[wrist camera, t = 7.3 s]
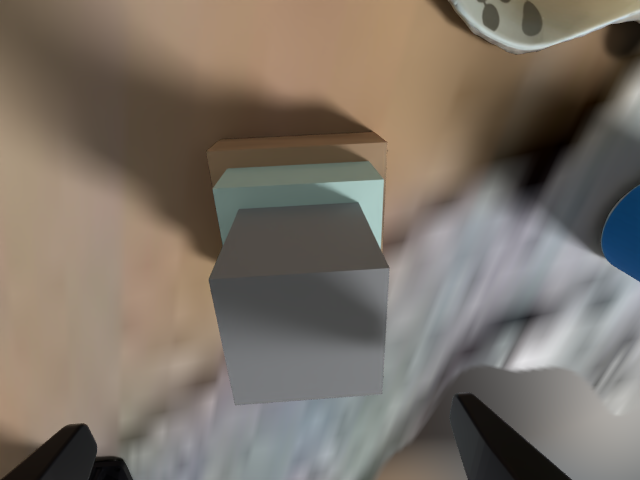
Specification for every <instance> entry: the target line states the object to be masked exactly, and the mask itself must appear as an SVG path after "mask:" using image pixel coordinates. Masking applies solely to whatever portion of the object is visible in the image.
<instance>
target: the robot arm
mask: <svg viewBox="0 0 640 480" xmlns="http://www.w3.org/2000/svg"><path fill="white" fill-rule="evenodd" d="M450 422H451V427H452V430H453V433H454V436H455V440H456V443H457V446H458V449H459V452H460V456H461V459H462V462H463V466H464V469H465V472H466V475H467V478H468V480H572V479H571V478H569V477H568V476H567V475H566V474H565V473H564V472H562V471H561V470H560V469H559V468H558V467H557V466H556V465H554V464H553V463H552V462H551V461H550V460H549V459H547V458H546V457H545V456H544V455H543V454H542V453H540V452H539V451H538V450H537V449H536V448H535V447H534V446H532V445H531V444H530V443H529V442H528V441H527V440H526V439H524V438H523V437H522V436H521V435H520V434H519V433H517V432H516V431H515V430H514V429H513V428H512V427H511V426H509V425H508V424H507V423H506V422H505V421H504V420H502V419H501V418H500V417H499V416H498V415H497V414H496V413H494V412H493V411H492V410H491V409H490V408H488V407H487V406H486V405H485V404H484V403H483V402H482V401H481V400H479V399H478V398H477V397H476V396H475V395H473V394H471V393H468V392H466V393H456V394H455V395H454V396H453V401H452V406H451V412H450ZM96 454H97V444H96V442H95V440H94V438H93V435H92V433H91V431H90V429H89V427H88V426H87V425H86V424H84V423H81V424H70V425H67V426H65V427H63V428H62V429H61V430H59V431H58V432H57V433H56V434H55V435H53V436H52V437H51V438H50V439H49V440H47V441H46V442H45V443H44V444H43V445H42V446H40V447H39V448H38V449H37V450H36V451H34V452H33V453H32V454H31V455H30V456H28V457H27V458H26V459H25V460H24V461H22V462H21V463H20V464H19V465H18V466H16V467H15V468H14V469H13V470H12V471H10V472H9V473H8V474H7V475H6V476H5V477H3V478H2V479H1V480H133V479H132V477H131V474H130V472H129V470H128V468H127V466H126V464H125V463H124V462H123V461H108V462H95V463H94V461H95V458H96Z"/></svg>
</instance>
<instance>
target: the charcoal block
mask: <svg viewBox="0 0 640 480" xmlns="http://www.w3.org/2000/svg"><path fill="white" fill-rule="evenodd" d="M209 284H210V289H211V294H212V298H213V303H214V308H215V313H216V317H217V322H218V327H219V332H220V336H221V341H222V346H223V351H224V355H225V360H226V365H227V370H228V374H229V379H230V384H231V389H232V393H233V398H234V403H235V405H246V404H259V403H273V402H286V401H299V400H312V399H325V398H339V397H352V396H365V395H378V394H382V387H383V370H384V353H385V336H386V319H387V301H388V284H389V266H388V264H387V262H386V260H385V258H384V255H383V253H382V251H381V249H380V247H379V245H378V243H377V241H376V238H375V236H374V234H373V232H372V230H371V228H370V226H369V223H368V221H367V219H366V217H365V215H364V213H363V211H362V209H361V206H360V204H359V202H356V203H338V204H320V205H302V206H284V207H266V208H248V209H239V210H238V212H237V214H236V217H235V219H234V221H233V224H232V226H231V228H230V231H229V233H228V235H227V238H226V240H225V242H224V245H223V247H222V249H221V252H220V254H219V256H218V259H217V261H216V263H215V266H214V268H213V270H212V273H211V275H210V277H209Z"/></svg>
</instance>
